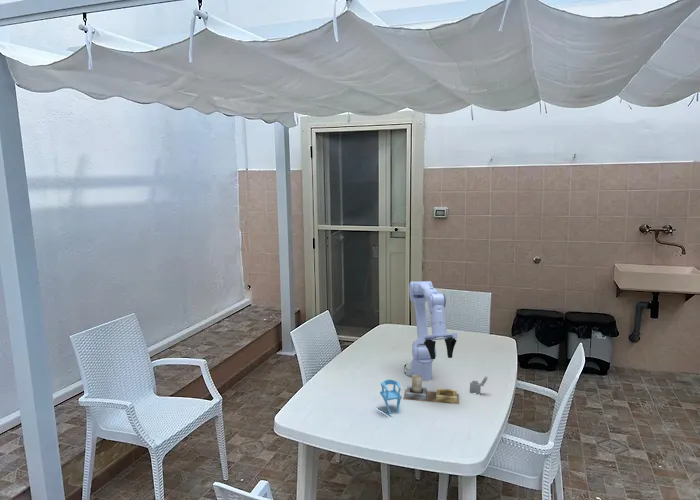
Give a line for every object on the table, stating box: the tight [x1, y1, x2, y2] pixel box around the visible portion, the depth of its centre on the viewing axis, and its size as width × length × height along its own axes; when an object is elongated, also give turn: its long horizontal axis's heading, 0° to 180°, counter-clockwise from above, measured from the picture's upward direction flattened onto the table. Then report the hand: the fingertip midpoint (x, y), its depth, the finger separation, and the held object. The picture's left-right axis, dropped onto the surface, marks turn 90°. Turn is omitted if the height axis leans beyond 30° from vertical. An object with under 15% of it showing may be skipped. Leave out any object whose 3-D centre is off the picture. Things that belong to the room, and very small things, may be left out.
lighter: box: [469, 375, 489, 395], centre depth 208 cm, size 7×2×8 cm, turn 63°
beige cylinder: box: [411, 375, 423, 394], centre depth 204 cm, size 4×4×8 cm
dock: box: [402, 385, 460, 405], centre depth 203 cm, size 22×10×3 cm, turn 79°
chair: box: [377, 379, 403, 418], centre depth 191 cm, size 8×8×12 cm
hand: (441, 358), depth 196 cm, fingers open, 7 cm apart
